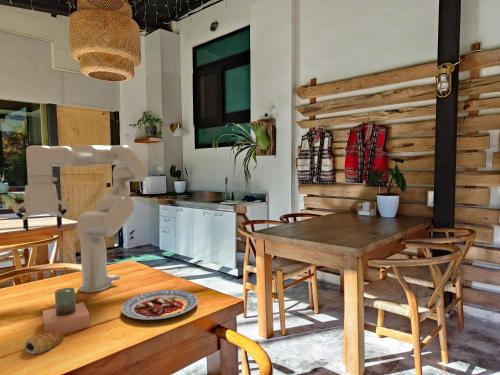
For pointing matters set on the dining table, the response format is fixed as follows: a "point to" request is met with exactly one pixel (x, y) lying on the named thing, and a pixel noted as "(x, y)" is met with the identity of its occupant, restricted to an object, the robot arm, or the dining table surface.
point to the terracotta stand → (66, 320)
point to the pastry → (43, 342)
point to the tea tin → (65, 301)
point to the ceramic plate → (158, 304)
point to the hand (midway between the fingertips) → (43, 229)
